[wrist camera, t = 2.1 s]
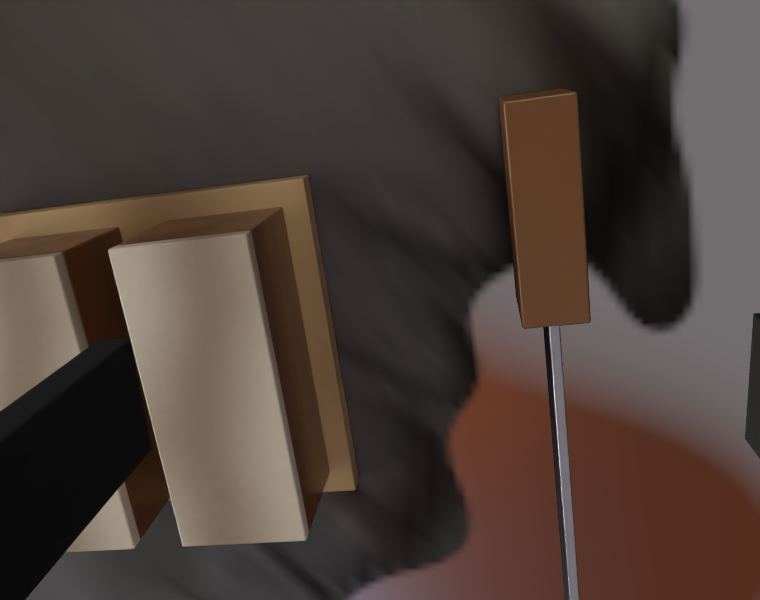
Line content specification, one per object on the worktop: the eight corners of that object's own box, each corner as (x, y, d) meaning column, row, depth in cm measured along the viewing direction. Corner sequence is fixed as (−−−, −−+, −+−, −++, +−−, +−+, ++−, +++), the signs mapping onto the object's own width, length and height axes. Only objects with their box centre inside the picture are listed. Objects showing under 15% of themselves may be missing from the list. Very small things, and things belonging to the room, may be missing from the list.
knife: (498, 96, 28) (502, 101, 24) (563, 88, 27) (577, 91, 23) (542, 599, 34) (551, 665, 30) (595, 597, 34) (611, 664, 30)
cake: (308, 174, 29) (269, 200, 24) (359, 478, 33) (336, 562, 28) (-5, 214, 32) (-109, 246, 26) (78, 495, 36) (4, 576, 30)
